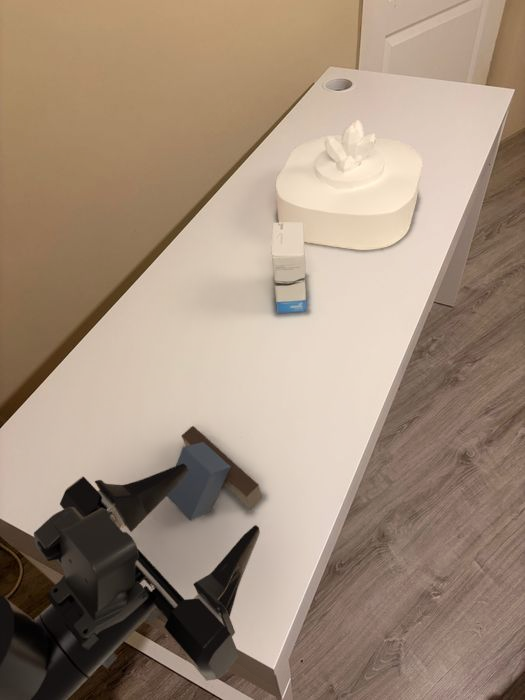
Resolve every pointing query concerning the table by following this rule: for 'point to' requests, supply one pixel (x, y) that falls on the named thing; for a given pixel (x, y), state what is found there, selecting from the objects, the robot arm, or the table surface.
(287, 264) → the ink box
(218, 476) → the slate block
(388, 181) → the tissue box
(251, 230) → the table surface
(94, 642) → the robot arm
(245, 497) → the walnut rail
